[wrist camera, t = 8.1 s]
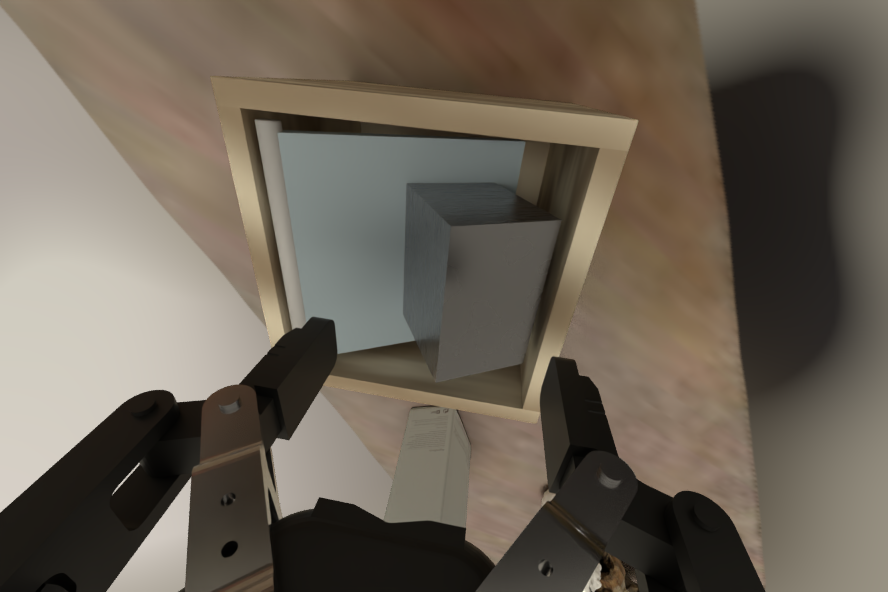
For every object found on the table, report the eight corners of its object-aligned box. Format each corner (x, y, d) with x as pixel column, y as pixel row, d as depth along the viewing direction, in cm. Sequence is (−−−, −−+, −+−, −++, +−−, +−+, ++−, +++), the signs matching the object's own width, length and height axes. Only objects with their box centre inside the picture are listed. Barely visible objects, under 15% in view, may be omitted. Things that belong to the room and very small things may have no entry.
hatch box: (348, 80, 25) (210, 76, 13) (573, 103, 24) (638, 120, 12) (358, 275, 34) (278, 377, 22) (525, 300, 32) (536, 423, 20)
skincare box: (410, 406, 42) (369, 542, 30) (458, 402, 41) (436, 544, 28) (430, 451, 46) (402, 588, 33) (475, 449, 44) (463, 592, 32)
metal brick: (406, 183, 18) (450, 226, 13) (494, 182, 19) (561, 220, 15) (402, 314, 22) (435, 382, 17) (475, 303, 23) (523, 363, 19)
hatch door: (255, 118, 15) (253, 121, 14) (518, 130, 19) (528, 133, 18) (297, 356, 22) (298, 367, 21) (483, 324, 26) (490, 332, 25)
